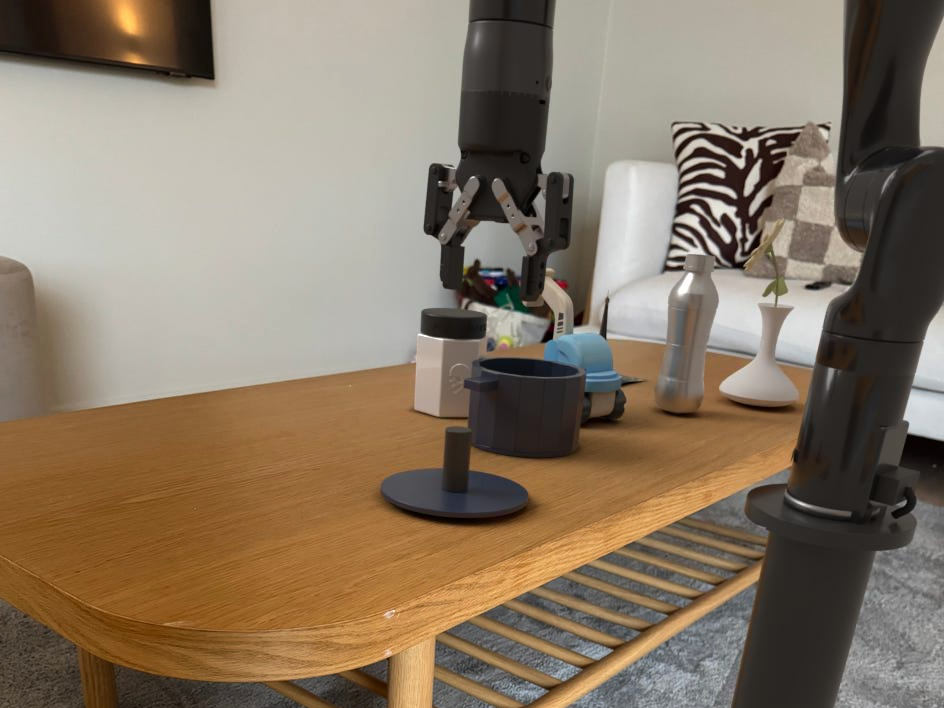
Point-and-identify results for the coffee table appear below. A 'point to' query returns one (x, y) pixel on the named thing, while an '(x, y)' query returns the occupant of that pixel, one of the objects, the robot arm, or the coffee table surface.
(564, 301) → the toy excavator
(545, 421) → the pot
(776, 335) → the flower in vase
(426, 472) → the lid
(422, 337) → the jar
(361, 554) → the coffee table surface
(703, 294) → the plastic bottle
